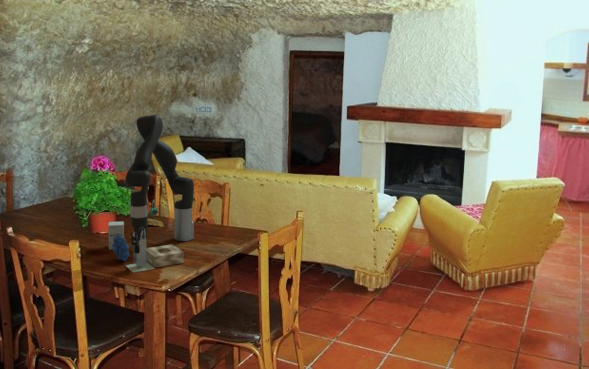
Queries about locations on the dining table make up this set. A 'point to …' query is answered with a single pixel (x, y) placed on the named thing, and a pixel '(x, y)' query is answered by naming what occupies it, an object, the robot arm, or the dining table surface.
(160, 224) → the frog figurine
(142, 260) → the peg
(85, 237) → the dining table surface
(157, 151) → the robot arm
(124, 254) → the grapes
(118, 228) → the supplement box
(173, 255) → the holder
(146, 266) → the mat
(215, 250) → the dining table surface
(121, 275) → the dining table surface
